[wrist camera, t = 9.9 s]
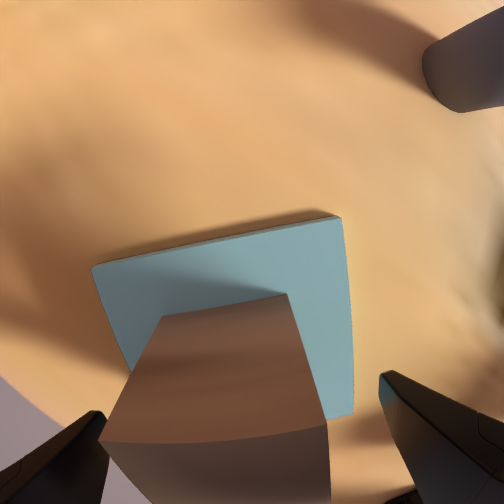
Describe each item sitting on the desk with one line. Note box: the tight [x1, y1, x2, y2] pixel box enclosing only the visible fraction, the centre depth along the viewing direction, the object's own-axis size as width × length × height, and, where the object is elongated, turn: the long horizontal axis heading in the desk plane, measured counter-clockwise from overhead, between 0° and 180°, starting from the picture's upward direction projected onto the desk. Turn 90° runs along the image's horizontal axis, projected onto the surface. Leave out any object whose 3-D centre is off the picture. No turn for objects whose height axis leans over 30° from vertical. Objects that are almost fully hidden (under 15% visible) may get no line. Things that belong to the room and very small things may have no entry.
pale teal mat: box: [91, 216, 354, 420], centre depth 11 cm, size 9×9×1 cm
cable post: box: [422, 6, 504, 113], centre depth 6 cm, size 3×3×5 cm
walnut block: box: [98, 294, 331, 504], centre depth 8 cm, size 4×4×6 cm
